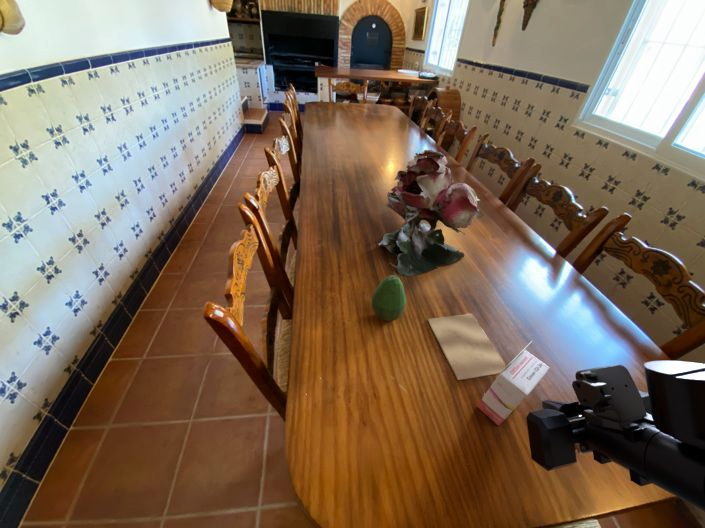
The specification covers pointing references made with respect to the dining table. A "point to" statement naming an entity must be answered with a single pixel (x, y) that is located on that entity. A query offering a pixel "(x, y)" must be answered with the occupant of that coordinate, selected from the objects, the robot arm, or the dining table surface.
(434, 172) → the rose bouquet
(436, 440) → the dining table surface
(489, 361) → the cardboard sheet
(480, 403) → the ink cartridge box
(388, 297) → the avocado
